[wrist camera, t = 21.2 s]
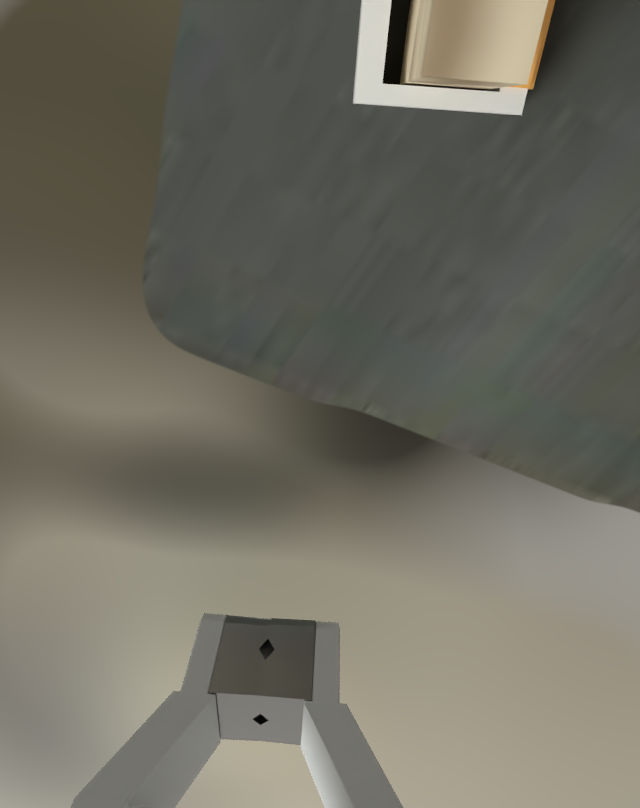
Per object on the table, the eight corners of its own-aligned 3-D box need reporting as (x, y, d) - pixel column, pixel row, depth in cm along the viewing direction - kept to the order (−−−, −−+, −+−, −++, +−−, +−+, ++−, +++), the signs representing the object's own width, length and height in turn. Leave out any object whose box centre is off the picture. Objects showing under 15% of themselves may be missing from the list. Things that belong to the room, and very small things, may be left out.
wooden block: (493, -7, 27) (562, -60, 18) (474, 91, 29) (527, 84, 21) (412, -13, 27) (444, -69, 18) (399, 85, 29) (422, 76, 21)
